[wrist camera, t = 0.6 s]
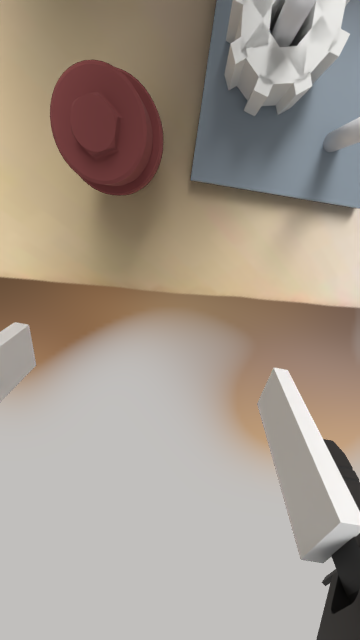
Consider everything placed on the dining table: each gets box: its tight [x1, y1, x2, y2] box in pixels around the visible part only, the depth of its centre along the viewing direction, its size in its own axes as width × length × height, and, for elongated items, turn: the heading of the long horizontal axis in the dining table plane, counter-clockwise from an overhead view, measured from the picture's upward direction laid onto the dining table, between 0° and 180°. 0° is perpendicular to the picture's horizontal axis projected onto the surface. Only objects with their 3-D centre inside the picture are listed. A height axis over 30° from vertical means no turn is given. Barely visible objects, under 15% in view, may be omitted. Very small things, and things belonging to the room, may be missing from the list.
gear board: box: [191, 0, 360, 208], centre depth 22 cm, size 18×22×10 cm
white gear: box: [224, 0, 350, 116], centre depth 21 cm, size 10×10×6 cm
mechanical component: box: [50, 60, 163, 195], centre depth 24 cm, size 12×10×10 cm
